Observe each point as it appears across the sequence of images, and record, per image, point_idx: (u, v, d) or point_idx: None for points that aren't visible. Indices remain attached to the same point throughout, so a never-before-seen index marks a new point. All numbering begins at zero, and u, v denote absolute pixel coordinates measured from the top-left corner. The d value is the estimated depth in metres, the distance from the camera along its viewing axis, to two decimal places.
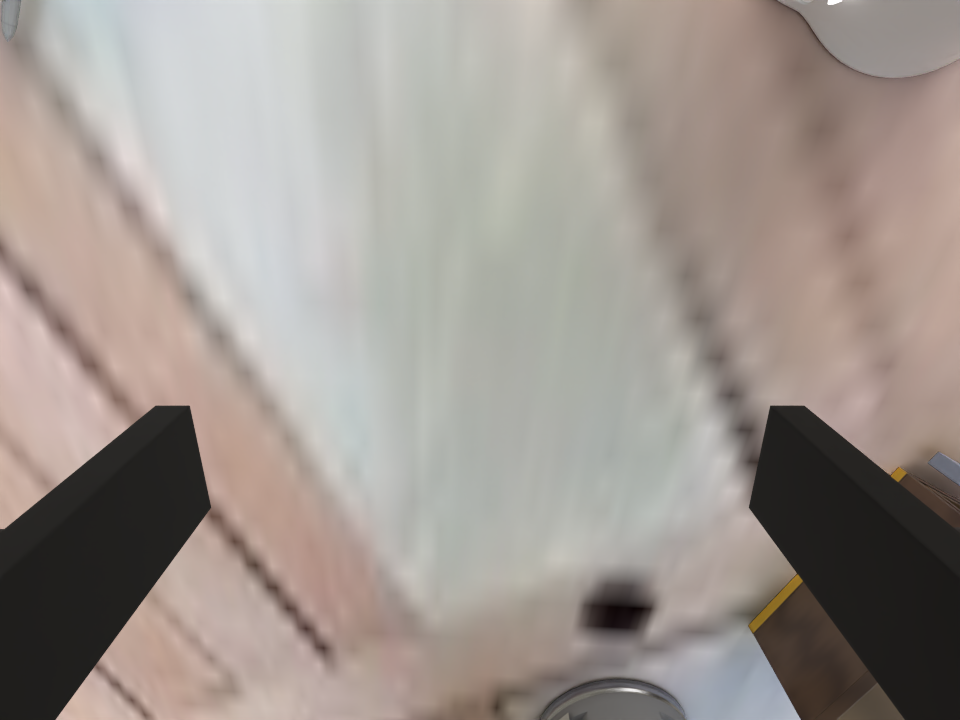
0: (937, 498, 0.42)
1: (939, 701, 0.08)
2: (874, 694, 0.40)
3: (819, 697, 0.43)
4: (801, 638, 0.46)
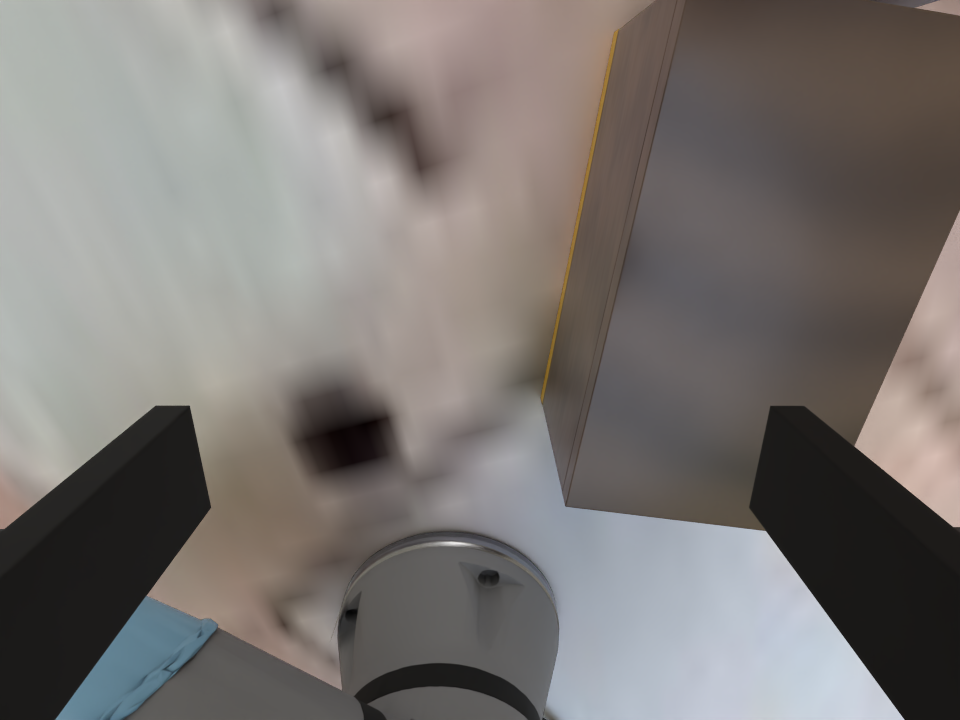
0: (637, 17, 0.23)
1: (939, 701, 0.08)
2: (610, 382, 0.22)
3: (569, 435, 0.25)
4: (562, 368, 0.28)
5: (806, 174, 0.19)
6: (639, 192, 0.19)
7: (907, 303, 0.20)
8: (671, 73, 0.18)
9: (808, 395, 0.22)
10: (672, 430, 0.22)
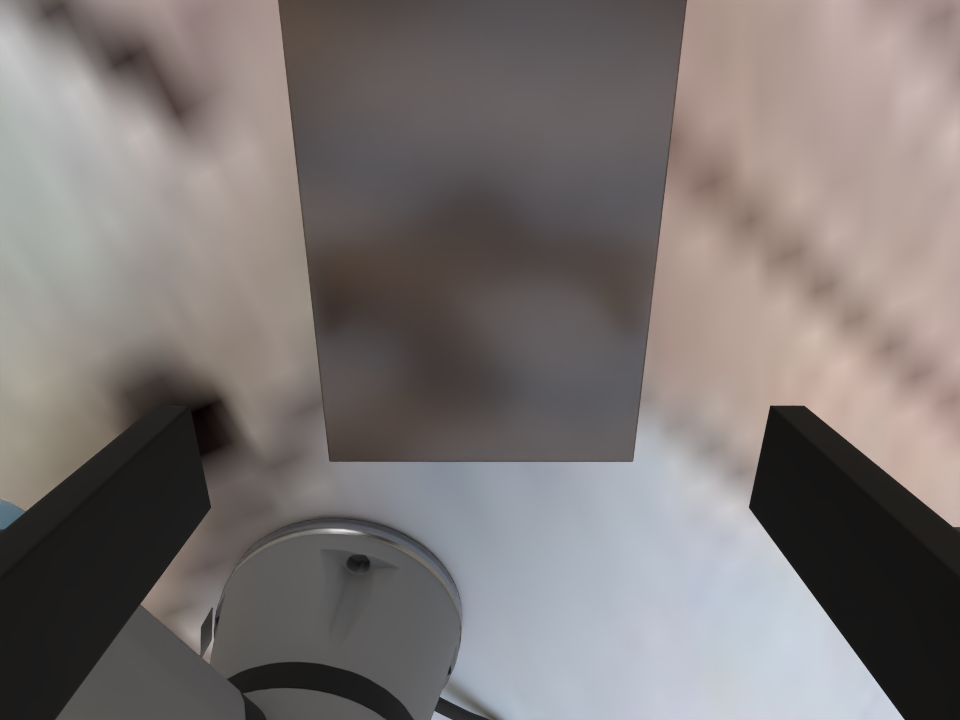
0: None
1: (939, 701, 0.08)
2: (330, 303, 0.18)
3: None
4: None
5: (477, 0, 0.15)
6: (285, 57, 0.16)
7: (656, 150, 0.16)
8: None
9: (570, 287, 0.18)
10: (423, 352, 0.19)
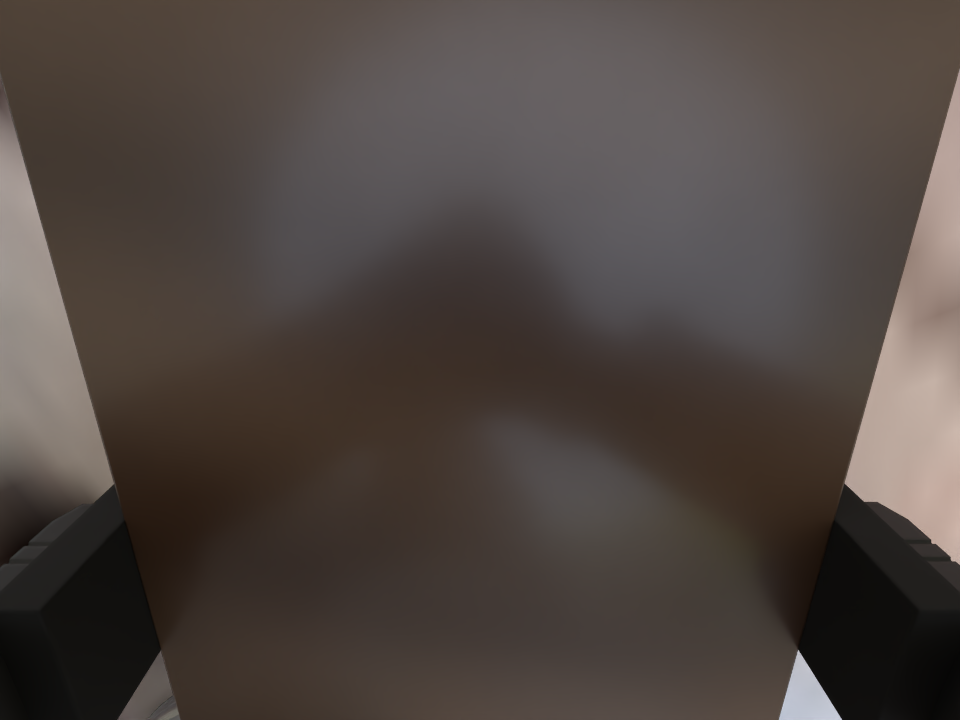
0: None
1: (840, 658, 0.08)
2: (154, 487, 0.08)
3: None
4: None
5: None
6: None
7: (902, 159, 0.07)
8: None
9: (673, 455, 0.08)
10: (358, 576, 0.09)
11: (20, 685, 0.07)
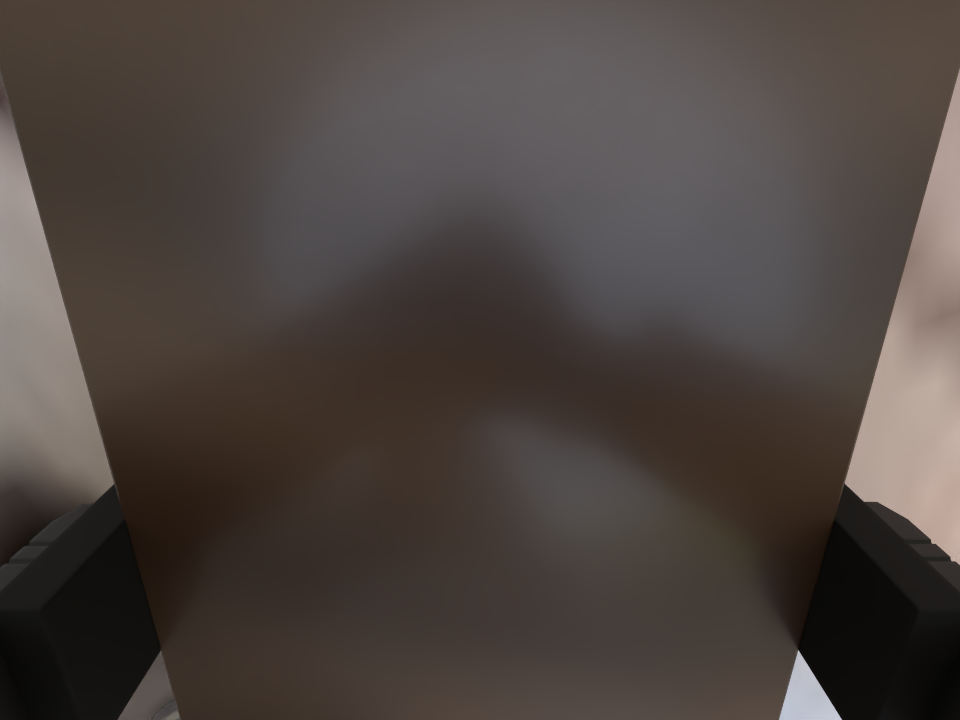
0: None
1: (840, 657, 0.08)
2: (154, 487, 0.08)
3: None
4: None
5: None
6: None
7: (902, 159, 0.07)
8: None
9: (673, 454, 0.08)
10: (358, 576, 0.09)
11: (20, 685, 0.07)
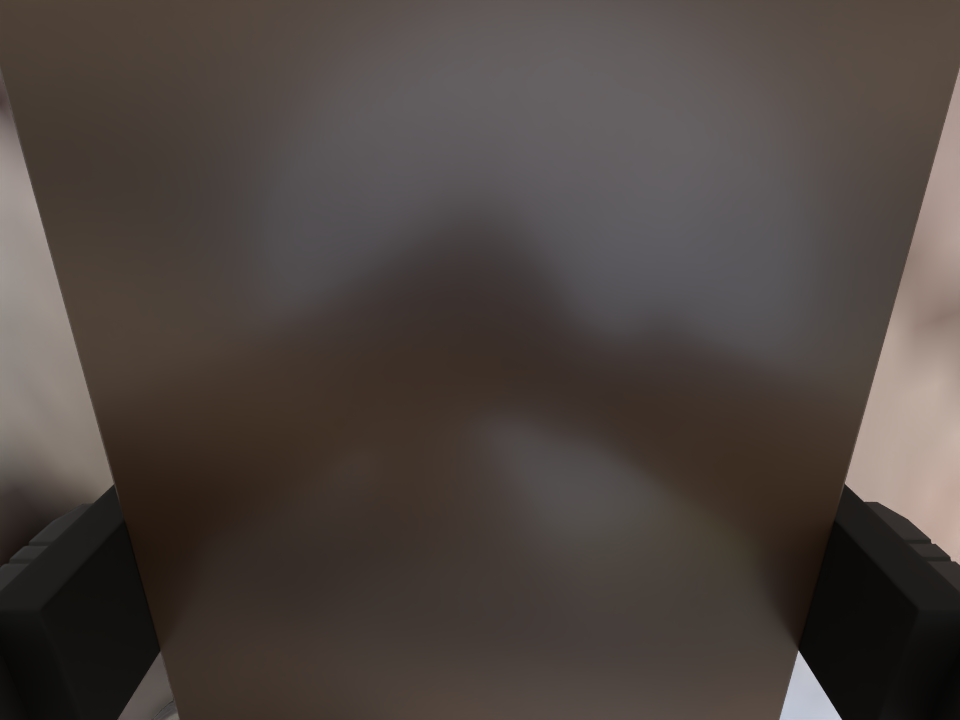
0: None
1: (840, 657, 0.08)
2: (154, 487, 0.08)
3: None
4: None
5: None
6: None
7: (902, 159, 0.07)
8: None
9: (674, 454, 0.08)
10: (358, 576, 0.09)
11: (20, 685, 0.07)
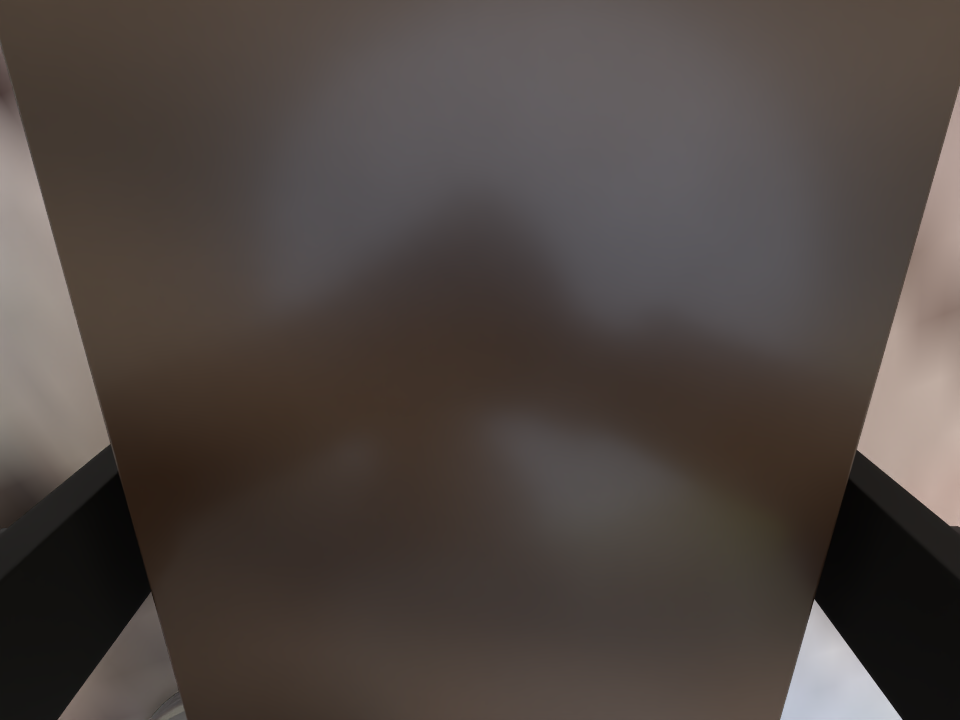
0: None
1: (935, 700, 0.08)
2: (154, 461, 0.08)
3: None
4: None
5: None
6: None
7: (916, 122, 0.07)
8: None
9: (680, 429, 0.08)
10: (361, 554, 0.09)
11: None
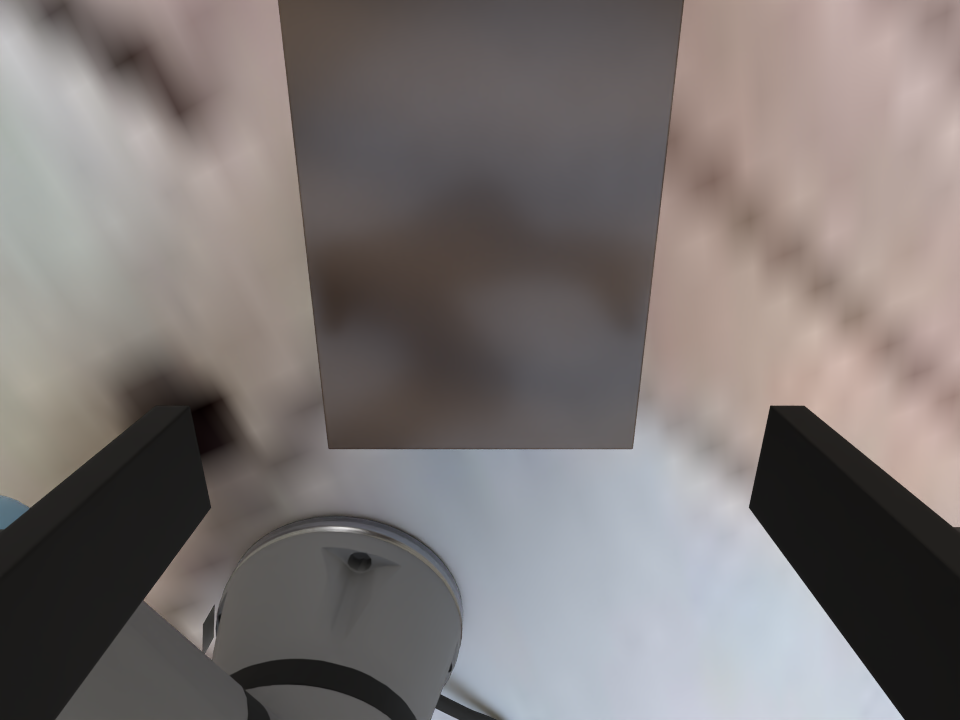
0: None
1: (939, 701, 0.08)
2: (329, 289, 0.18)
3: None
4: None
5: None
6: (283, 40, 0.15)
7: (655, 133, 0.16)
8: None
9: (570, 272, 0.18)
10: (422, 338, 0.19)
11: None
